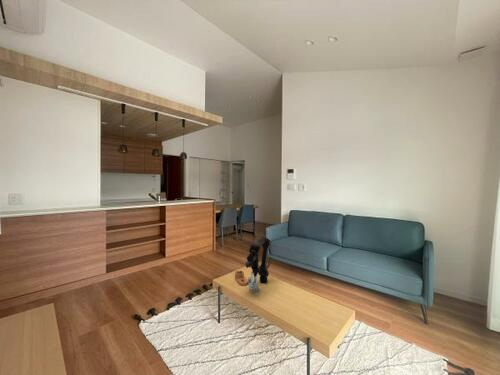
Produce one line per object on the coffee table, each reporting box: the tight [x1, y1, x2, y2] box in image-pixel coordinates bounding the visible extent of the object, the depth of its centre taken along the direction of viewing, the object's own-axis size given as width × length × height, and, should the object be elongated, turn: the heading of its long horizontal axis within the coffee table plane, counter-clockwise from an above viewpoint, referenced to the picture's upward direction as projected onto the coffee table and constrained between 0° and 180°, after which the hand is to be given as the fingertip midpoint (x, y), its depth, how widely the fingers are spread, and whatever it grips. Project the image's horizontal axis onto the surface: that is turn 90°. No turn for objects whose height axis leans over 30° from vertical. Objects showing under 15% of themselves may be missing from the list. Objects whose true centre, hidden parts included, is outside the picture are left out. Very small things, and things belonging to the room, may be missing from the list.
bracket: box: [234, 270, 248, 287], centre depth 197 cm, size 18×8×7 cm, turn 24°
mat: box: [249, 287, 261, 295], centre depth 179 cm, size 8×8×1 cm
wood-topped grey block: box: [250, 271, 259, 284], centre depth 179 cm, size 6×3×9 cm, turn 96°
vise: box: [247, 276, 259, 289], centre depth 190 cm, size 8×10×5 cm
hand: (254, 276), depth 179 cm, fingers closed on wood-topped grey block, 3 cm apart
